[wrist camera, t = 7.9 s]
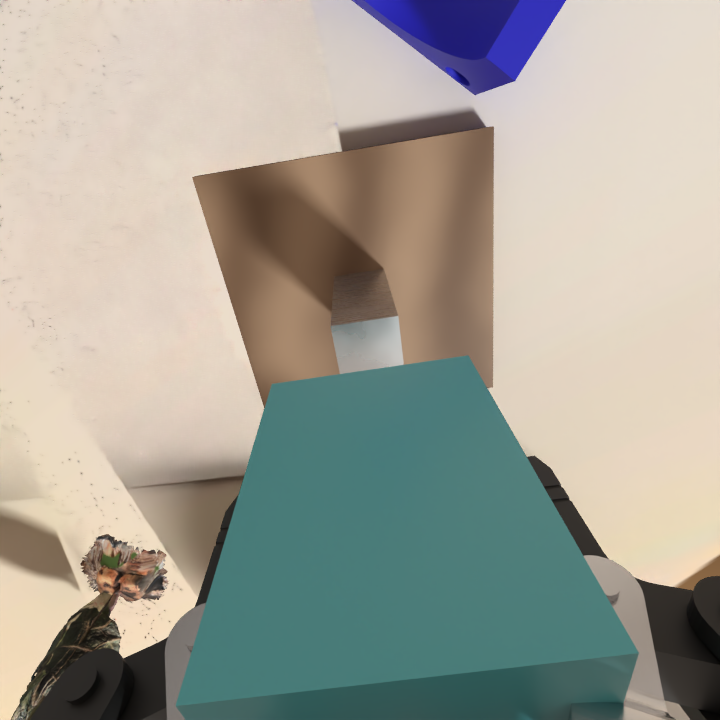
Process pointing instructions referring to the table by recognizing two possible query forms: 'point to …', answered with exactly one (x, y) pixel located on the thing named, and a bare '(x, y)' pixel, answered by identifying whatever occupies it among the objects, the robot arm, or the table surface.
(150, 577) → the plant with pod
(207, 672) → the aqua box
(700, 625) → the robot arm
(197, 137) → the table surface
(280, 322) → the walnut board
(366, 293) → the steel post
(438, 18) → the cable clip
